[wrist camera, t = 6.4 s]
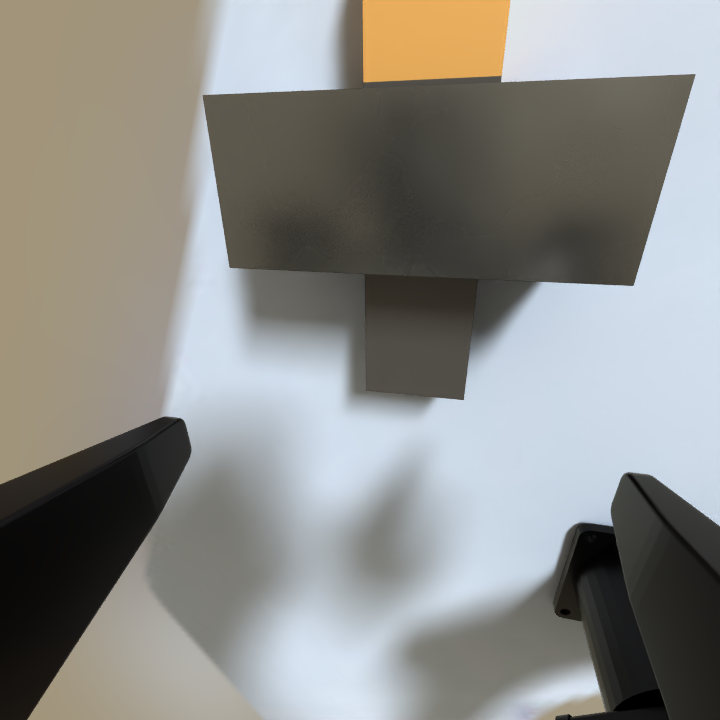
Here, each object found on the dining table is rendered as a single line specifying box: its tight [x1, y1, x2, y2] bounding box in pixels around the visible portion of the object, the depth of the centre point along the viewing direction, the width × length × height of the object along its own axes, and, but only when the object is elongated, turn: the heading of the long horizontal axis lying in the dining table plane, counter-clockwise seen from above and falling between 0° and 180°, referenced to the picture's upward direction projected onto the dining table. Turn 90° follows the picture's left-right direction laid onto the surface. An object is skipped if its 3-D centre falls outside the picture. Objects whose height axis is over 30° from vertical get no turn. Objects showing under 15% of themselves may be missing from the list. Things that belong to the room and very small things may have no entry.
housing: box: [203, 74, 695, 286], centre depth 12 cm, size 4×10×6 cm, turn 91°
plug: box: [363, 0, 510, 400], centre depth 13 cm, size 14×4×3 cm, turn 1°
